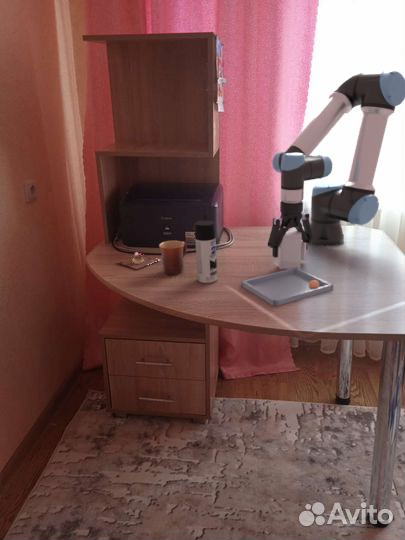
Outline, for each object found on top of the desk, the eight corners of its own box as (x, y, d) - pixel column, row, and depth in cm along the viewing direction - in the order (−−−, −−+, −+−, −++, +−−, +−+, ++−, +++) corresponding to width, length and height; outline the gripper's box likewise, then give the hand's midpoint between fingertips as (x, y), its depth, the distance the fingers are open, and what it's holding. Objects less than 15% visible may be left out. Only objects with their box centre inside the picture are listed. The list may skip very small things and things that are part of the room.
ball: (314, 287, 148) (314, 277, 146) (321, 290, 145) (321, 280, 144) (306, 289, 146) (306, 279, 145) (313, 292, 144) (313, 283, 142)
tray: (296, 273, 160) (296, 267, 160) (332, 291, 146) (333, 284, 145) (241, 288, 151) (241, 281, 150) (274, 308, 136) (274, 301, 135)
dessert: (161, 262, 178) (160, 250, 176) (137, 272, 170) (135, 259, 168) (140, 256, 185) (139, 244, 184) (116, 265, 177) (114, 253, 175)
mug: (175, 278, 161) (173, 250, 157) (156, 273, 166) (153, 246, 162) (196, 267, 170) (194, 240, 166) (177, 263, 175) (175, 236, 171)
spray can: (213, 284, 155) (211, 226, 147) (194, 282, 157) (191, 224, 150) (219, 277, 160) (218, 220, 153) (201, 275, 163) (198, 219, 155)
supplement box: (300, 271, 162) (301, 236, 158) (278, 270, 164) (279, 236, 159) (300, 264, 169) (301, 230, 164) (279, 263, 170) (280, 229, 166)
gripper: (311, 194, 165) (308, 253, 174) (256, 203, 156) (256, 265, 164) (325, 197, 159) (322, 259, 167) (270, 207, 150) (269, 272, 158)
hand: (289, 262), depth 166 cm, fingers open, 10 cm apart
